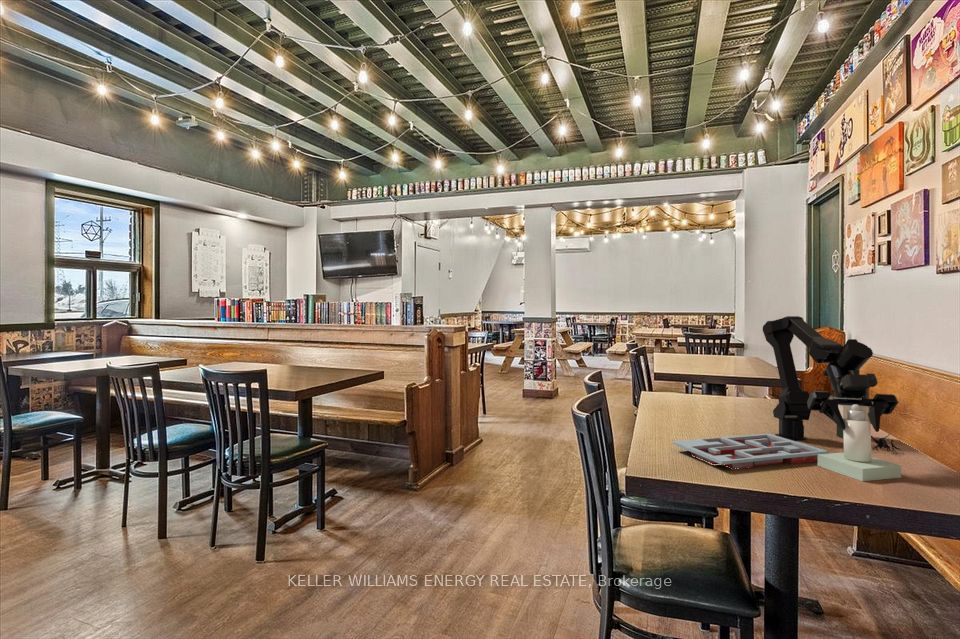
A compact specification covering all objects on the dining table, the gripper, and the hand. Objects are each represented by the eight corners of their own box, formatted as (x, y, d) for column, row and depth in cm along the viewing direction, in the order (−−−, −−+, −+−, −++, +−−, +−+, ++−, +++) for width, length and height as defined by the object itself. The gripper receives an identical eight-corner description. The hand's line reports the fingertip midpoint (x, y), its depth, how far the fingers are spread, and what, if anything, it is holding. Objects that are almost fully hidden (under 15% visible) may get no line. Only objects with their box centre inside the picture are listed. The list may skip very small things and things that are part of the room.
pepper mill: (838, 456, 125) (836, 403, 126) (855, 455, 126) (853, 402, 127) (859, 462, 120) (857, 406, 120) (877, 461, 121) (875, 405, 122)
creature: (909, 460, 136) (890, 446, 143) (913, 443, 135) (893, 430, 142) (879, 459, 137) (861, 445, 145) (882, 442, 136) (864, 429, 143)
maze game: (768, 443, 150) (768, 433, 150) (828, 462, 131) (828, 451, 131) (672, 452, 141) (672, 441, 141) (721, 473, 123) (721, 461, 122)
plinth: (817, 465, 128) (817, 454, 127) (853, 462, 130) (853, 451, 130) (862, 481, 116) (862, 469, 116) (901, 477, 118) (901, 465, 118)
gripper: (811, 361, 129) (827, 410, 119) (895, 363, 123) (919, 414, 113) (801, 385, 137) (814, 433, 126) (879, 388, 131) (900, 439, 121)
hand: (860, 430), depth 121 cm, fingers open, 7 cm apart
